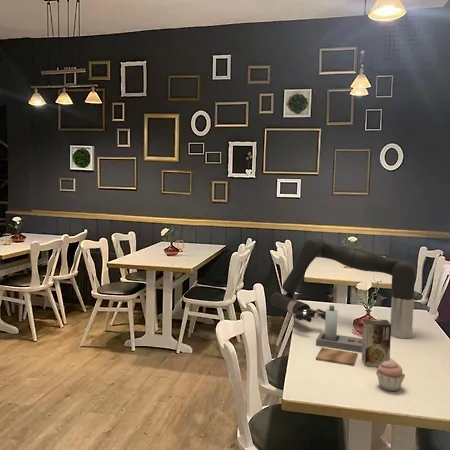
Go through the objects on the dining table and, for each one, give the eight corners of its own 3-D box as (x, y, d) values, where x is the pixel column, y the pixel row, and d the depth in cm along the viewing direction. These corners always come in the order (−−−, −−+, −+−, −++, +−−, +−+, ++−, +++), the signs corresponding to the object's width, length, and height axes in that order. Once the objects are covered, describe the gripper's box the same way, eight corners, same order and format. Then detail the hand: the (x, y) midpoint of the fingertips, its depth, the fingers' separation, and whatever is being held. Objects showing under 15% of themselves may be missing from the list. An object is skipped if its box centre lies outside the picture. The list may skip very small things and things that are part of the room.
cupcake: (380, 379, 164) (382, 350, 163) (408, 387, 158) (410, 357, 157) (370, 387, 157) (371, 358, 156) (398, 396, 151) (400, 366, 150)
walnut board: (357, 355, 186) (357, 353, 186) (353, 365, 175) (353, 363, 175) (321, 349, 191) (321, 347, 191) (315, 359, 180) (315, 357, 180)
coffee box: (385, 361, 181) (387, 319, 179) (389, 367, 174) (392, 324, 173) (360, 359, 182) (363, 318, 180) (364, 366, 175) (366, 323, 174)
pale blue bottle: (336, 342, 200) (338, 305, 199) (335, 346, 196) (336, 308, 194) (325, 340, 202) (327, 303, 200) (323, 344, 197) (325, 306, 196)
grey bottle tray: (371, 345, 198) (371, 338, 197) (368, 353, 188) (369, 345, 188) (320, 338, 205) (320, 331, 205) (315, 345, 196) (316, 338, 196)
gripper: (285, 302, 218) (305, 311, 203) (312, 300, 223) (333, 309, 209) (285, 318, 219) (304, 329, 204) (311, 315, 224) (332, 325, 209)
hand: (318, 318), depth 206 cm, fingers open, 8 cm apart
